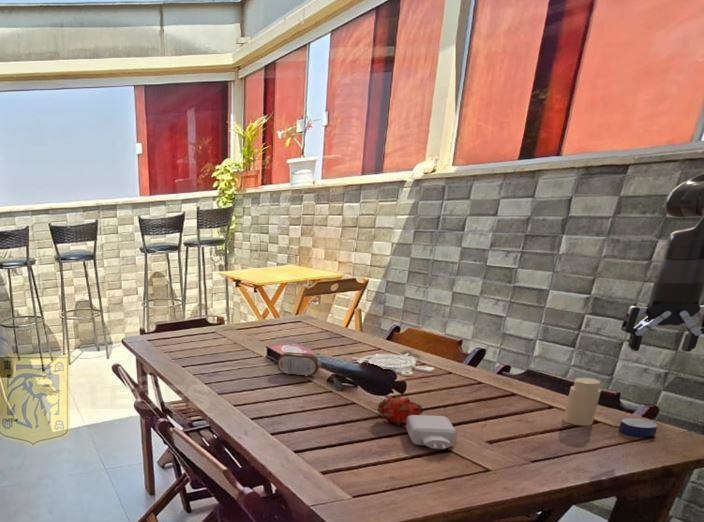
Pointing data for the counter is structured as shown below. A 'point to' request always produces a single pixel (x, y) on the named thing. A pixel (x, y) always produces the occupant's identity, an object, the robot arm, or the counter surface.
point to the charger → (431, 431)
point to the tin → (298, 363)
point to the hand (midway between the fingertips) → (659, 350)
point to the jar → (582, 402)
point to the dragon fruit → (398, 409)
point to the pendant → (395, 363)
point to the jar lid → (638, 427)
